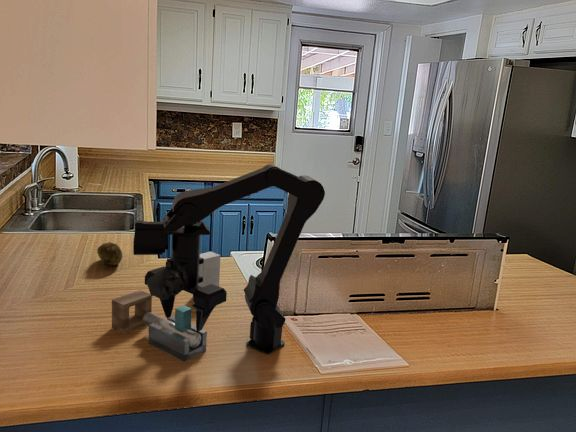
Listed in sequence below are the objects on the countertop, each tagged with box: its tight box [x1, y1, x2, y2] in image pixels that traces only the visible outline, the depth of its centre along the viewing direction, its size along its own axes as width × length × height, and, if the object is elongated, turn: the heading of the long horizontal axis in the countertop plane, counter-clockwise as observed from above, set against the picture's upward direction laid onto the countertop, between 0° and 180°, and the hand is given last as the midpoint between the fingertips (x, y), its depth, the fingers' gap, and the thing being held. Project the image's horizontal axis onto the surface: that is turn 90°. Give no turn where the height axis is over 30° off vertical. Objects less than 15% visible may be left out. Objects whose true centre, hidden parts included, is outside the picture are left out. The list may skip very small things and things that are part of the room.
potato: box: [96, 242, 124, 266], centre depth 149 cm, size 8×13×8 cm, turn 4°
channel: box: [147, 315, 208, 363], centre depth 105 cm, size 11×6×4 cm, turn 56°
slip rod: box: [143, 304, 201, 348], centre depth 106 cm, size 15×3×8 cm, turn 56°
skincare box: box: [198, 251, 221, 287], centre depth 132 cm, size 6×4×12 cm
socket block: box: [111, 289, 153, 335], centre depth 113 cm, size 4×8×7 cm, turn 146°
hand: (183, 324), depth 104 cm, fingers open, 9 cm apart
